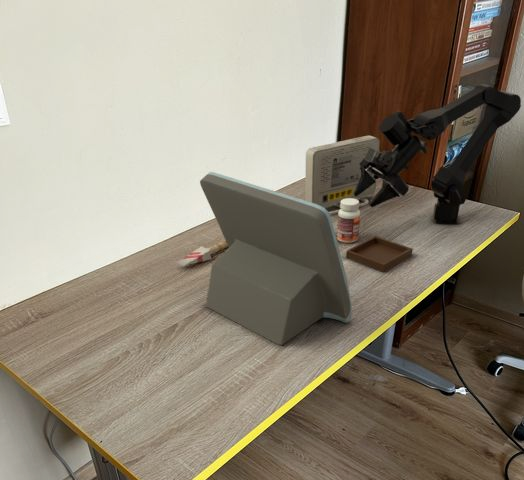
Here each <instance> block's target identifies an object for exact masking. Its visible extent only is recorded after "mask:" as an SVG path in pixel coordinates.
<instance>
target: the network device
mask: <svg viewBox="0 0 524 480" xmlns="http://www.w3.org/2000/svg"><path fill="white" fill-rule="evenodd" d="M369 148H372V149H375V150H377V151H380V139H379V138H378V137H375V136H372V135H364V136H359V137H354V138H350V139H345V140H341V141H336V142H331V143H326V144H322V145H316V146H312V147H309V148H308V149H307V150H306V152H305V180H304V183H305V186H304V189H305V190H304V191H305V192H304V200H305V201H308V202H311V203H314V204H317V205H320V206H322V207H323V208H327V207H330V206H335V207H337V208H339V209H336V210H335V209H334V210H332V211H328V212H329V214H330V216H331V215H336V214H338V212H339V210H340V209H341V208H340V204H341V200H343V199H346V198H353V199H357V200H358V201H361V203H359V208H361V207H365V206H368V205H369V204H370V203H369V202H370V201H369V199H368V198H365V197H367V196H372V195H373V194H375V192H376V189H377V179H376V180H375V179H374V178H373V179H374V180H375V181H376V182H375V183H374V184H373V185H371V186H370V187H369V188H367V189H366V190H365V191H363V192H362V193H361V194H359V195H358V196H355V195H354V192H355V189H356V187H357V185H358V183H359V180H360V177H361V170H360V167H361V166H360V165H359V164H360V162H361V161H362V160H363V159H365V156H366V154H367V152H368V150H369Z"/></svg>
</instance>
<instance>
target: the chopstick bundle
mask: <svg viewBox="0 0 524 480" xmlns="http://www.w3.org/2000/svg"><path fill="white" fill-rule="evenodd" d="M226 248H229V246H228V244H227V242H226V240H225V241H222V242H220V243H217V244H215V245H212V246H211V247H208V248H207V247H204V246H199V247H198V248H196V249H195V250H194V251H192V252H191V253H189V254H188V255H186V256H184V257H183V258H182V259H180V260H178V261H177V262H176V264H178V265H181V266H183V267H184V266H189V265H192V264H198V263H201V262H205V261H206V262H207V261H210V260H212V257H211V255H213V254H215V253H218V252H219V251H222V250H224V249H226Z"/></svg>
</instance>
